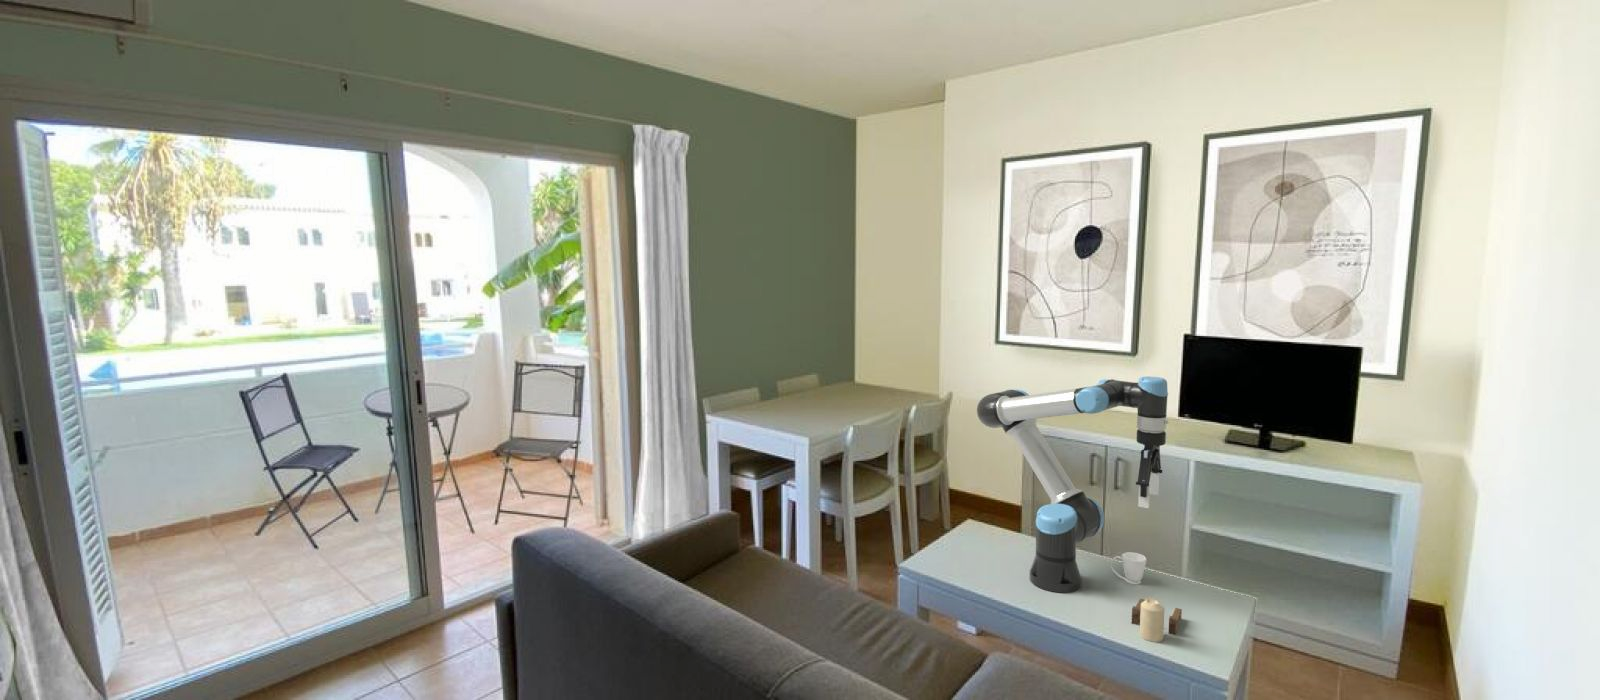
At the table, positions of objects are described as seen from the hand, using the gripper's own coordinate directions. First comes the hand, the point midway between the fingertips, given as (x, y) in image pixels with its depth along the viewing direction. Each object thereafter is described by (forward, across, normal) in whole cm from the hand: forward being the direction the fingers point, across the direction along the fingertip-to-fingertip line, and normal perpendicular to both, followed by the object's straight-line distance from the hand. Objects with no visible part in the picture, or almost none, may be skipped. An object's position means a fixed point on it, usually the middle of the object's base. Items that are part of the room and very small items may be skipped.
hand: (1148, 500), depth 197 cm
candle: (+29, -25, -6) cm, 39 cm away
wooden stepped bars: (+29, -16, -6) cm, 33 cm away
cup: (+29, +6, +6) cm, 30 cm away
